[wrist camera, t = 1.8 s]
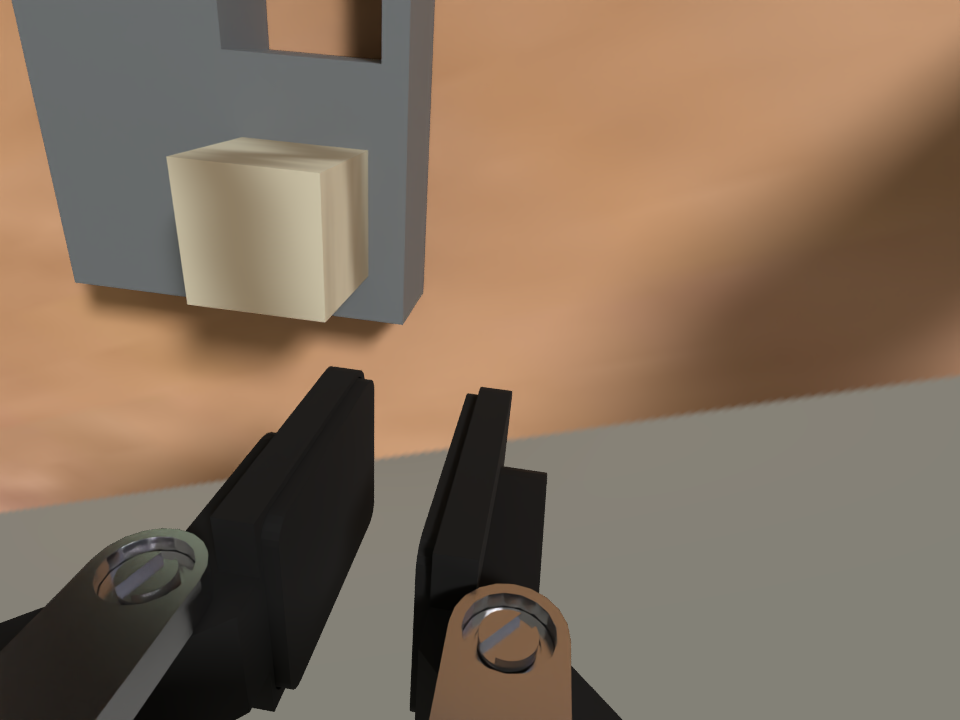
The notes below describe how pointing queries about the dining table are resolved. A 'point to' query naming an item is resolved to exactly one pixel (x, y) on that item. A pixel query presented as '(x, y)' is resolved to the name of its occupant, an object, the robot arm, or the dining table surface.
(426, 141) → the board
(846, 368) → the dining table surface
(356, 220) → the maple block
